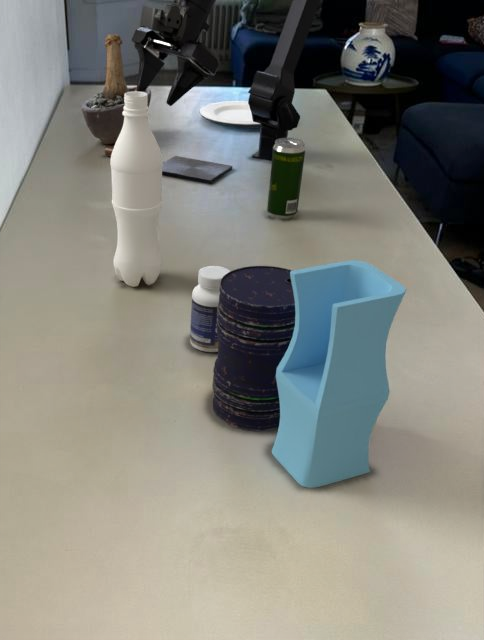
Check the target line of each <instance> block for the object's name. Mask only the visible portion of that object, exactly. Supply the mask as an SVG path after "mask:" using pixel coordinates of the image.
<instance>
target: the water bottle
mask: <svg viewBox="0 0 484 640" xmlns="http://www.w3.org/2000/svg"><path fill="white" fill-rule="evenodd" d="M147 98H148V96H147V93H145V92H139V91H133V92H127V93H125V94H124V99H125V100H124V102H125V106H124V108H123V109H124V111H123V112H122V114H123V116H124V124H123V127H122V130H121V132H120V135H119V137H118V139H117V141H116V143H115V144H114V146H113V147H114V148H113V151H112V154H111V157H110V161H109V162H110V163H109V166H110V169H111V170H110V172H111V174H110V175H111V191H112V192H111V195H112V197H111V205H112V207H113V210H114V215H115V220H116V228H117V242H116V249H115V253H114V256H113V259H112V261H113V267H114V268H113V269H114V272H115V274H116V277H117V278H118V280H120V281H121V282H124V284H125V285H127V286H129V287H132V288H135V287H139V284H140V282H141V280H143V281H144V283H145V285H147V286H150V285H153V284H154V283H156V281H157V280H158V278H159V275H160V273H161V269H162V265H163V256H162V252H161V250H160V245H159V239H158V222H159V216H160V213H161V210H162V208H163V205H164V204H163V202H164V201H163V199H162V198H163V196H162V195H163V175H162V166H163V162H164V159H163V155H162V151H161V149H160V145H159V144H158V142H157V139H156V137H155V136H154V134H153V131H152V129H151V126H150V123H149V122H150V121H149V116H150V115H151V114H150V110H149V109H150V107H149V108H148V106H147V104H148V102H147V101H148V99H147Z"/></svg>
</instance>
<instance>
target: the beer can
mask: <svg viewBox="0 0 484 640" xmlns="http://www.w3.org/2000/svg"><path fill="white" fill-rule="evenodd" d="M305 144H306V143H305V140H302V139H300V138H297V137H287V138H280V139H277V140H276V141H275V145H274V147H273V155H272V161H271V166H270V177H269V187H268V195H267V196H268V197H267V204H266V205H267V206H266V212H267V215H268V216H269V217H270V218H272V219H276V220H291V219H294V218H295V217H296V215H297V213H298V212H299V211H298V210H299V204H300V203H299V202H300V195H301V187H302V179H303V170H304V165H305V164H304V162H305V154H306V147H305Z"/></svg>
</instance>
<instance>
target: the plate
mask: <svg viewBox="0 0 484 640" xmlns="http://www.w3.org/2000/svg"><path fill="white" fill-rule="evenodd" d="M199 114H200V116H201V117H202V118H204V119H205V120H207V121H210V122H211V123H214V124H216V125H218V126H222V127H227V128H235V129H258V128H261V124H260V123H257V122H253V119H252V114H251V110H250V106H249V104H248V100H225V101H216V102H211V103H208V104H206V105H203V107H201V108H200V109H199Z"/></svg>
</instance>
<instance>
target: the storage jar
mask: <svg viewBox="0 0 484 640" xmlns="http://www.w3.org/2000/svg"><path fill="white" fill-rule="evenodd" d="M290 271H293V269H289V268H284V267H280V266H273V265H250V266H243V267H239V268H235V269H233V270H230V272H228V273H227V274H225V275H224V276H223V277H222V279H221V281H220V295H219V303H218V307H217V323H216V328H217V335H218V337H219V341H218V352H217V357H216V359H215V361H214V365H213V370H212V373H213V376H212V390H213V391H212V395H213V397H212V403H211V404H212V411H213V412H214V415H215V416H216V417H217V418H218V419H219V420H220V421H222V422H223V423H225V424H226V425H229V426H231V427H234V428H237V429H240V430H245V431H251V432H252V431H254V432H260V431H261V432H263V431H264V432H265V431H271V430H276V429H279V422H280V401H279V393H278V387H277V381H276V370H277V367H278V365H279V364H280V362H281V360H282V358H283V357H284V355H285V353H286V351H287V349H288V347H289V344H290V342H291V339H292V336H293V332H294V328H295V315H296V312H295V299H294V293H293V287H292V282H291V276H290Z"/></svg>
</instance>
